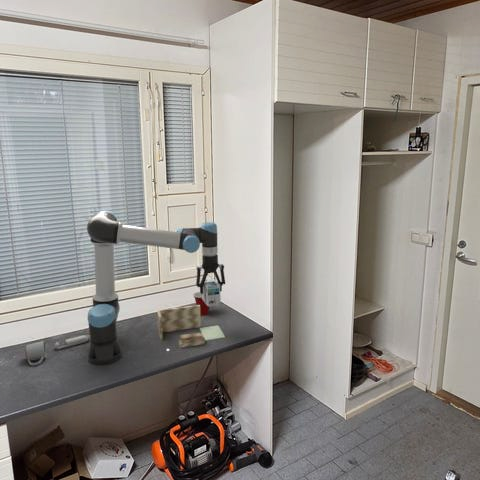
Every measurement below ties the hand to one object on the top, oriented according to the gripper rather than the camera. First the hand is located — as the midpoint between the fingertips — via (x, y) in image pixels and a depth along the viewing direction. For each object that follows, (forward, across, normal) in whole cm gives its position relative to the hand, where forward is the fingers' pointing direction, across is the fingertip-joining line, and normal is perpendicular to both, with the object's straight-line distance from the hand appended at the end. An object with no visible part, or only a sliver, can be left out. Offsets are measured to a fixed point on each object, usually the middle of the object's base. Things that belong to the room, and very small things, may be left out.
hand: (211, 298), depth 209 cm
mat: (+19, 0, 0) cm, 19 cm away
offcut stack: (+19, -12, -8) cm, 24 cm away
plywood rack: (+19, -15, +5) cm, 25 cm away
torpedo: (+19, -66, +9) cm, 70 cm away
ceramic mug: (+19, -82, -2) cm, 84 cm away
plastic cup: (+19, +1, +26) cm, 32 cm away
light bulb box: (+2, 0, 0) cm, 2 cm away
